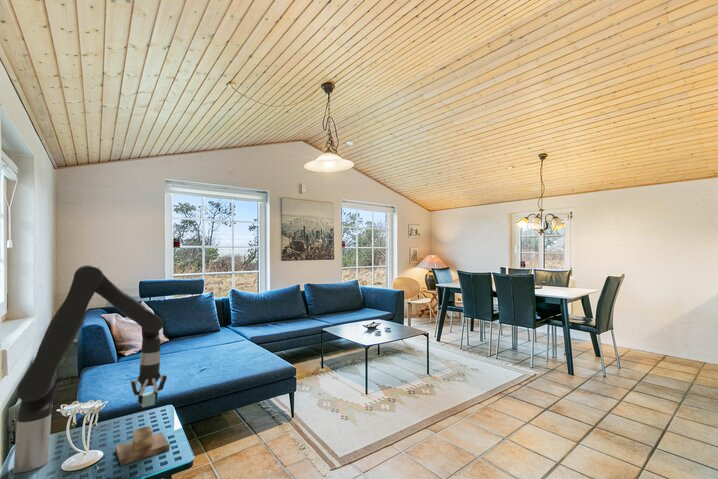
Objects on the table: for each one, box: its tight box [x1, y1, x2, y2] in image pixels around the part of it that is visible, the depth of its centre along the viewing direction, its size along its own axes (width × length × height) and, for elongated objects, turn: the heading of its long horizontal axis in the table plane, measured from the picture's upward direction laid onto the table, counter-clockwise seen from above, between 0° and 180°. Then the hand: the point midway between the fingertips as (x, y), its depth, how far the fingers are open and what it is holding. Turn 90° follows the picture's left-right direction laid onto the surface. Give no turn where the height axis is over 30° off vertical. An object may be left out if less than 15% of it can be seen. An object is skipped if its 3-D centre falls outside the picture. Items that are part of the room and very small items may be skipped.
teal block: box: [140, 390, 156, 408], centre depth 149 cm, size 4×4×4 cm
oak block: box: [132, 425, 153, 450], centre depth 136 cm, size 6×6×6 cm
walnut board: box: [114, 432, 171, 466], centre depth 135 cm, size 16×13×2 cm
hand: (147, 402), depth 149 cm, fingers closed on teal block, 4 cm apart
